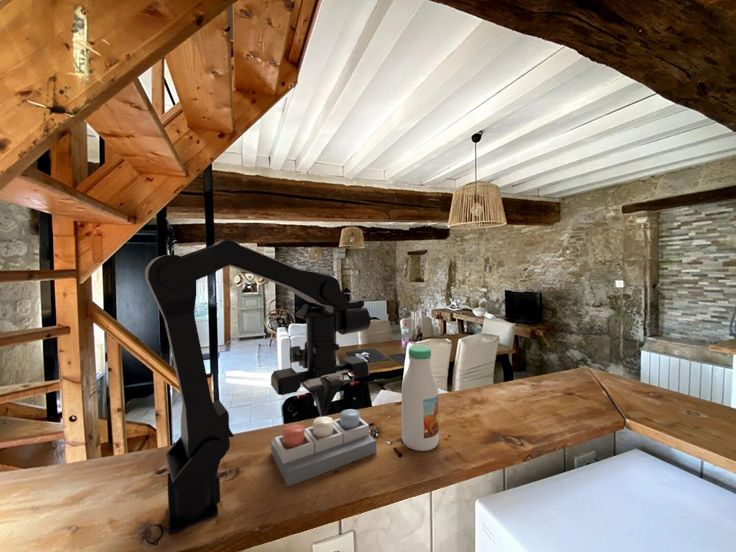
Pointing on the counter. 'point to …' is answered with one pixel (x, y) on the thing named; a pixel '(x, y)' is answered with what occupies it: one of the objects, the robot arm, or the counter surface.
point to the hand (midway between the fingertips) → (322, 415)
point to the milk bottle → (420, 402)
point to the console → (322, 452)
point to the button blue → (349, 419)
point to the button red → (293, 436)
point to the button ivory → (322, 427)
